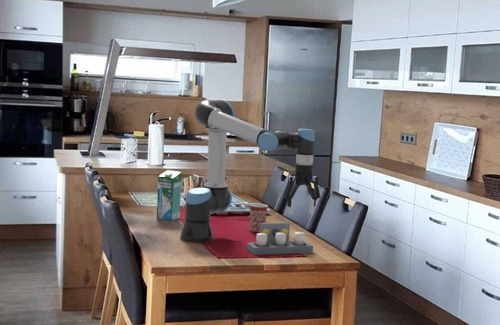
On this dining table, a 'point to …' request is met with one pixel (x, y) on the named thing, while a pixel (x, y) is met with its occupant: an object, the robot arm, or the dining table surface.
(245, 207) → the maze game
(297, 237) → the button right
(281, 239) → the button middle
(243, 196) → the dining table surface
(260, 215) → the mug
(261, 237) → the button left
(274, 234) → the card
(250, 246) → the button board
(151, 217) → the dining table surface
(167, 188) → the milk carton
